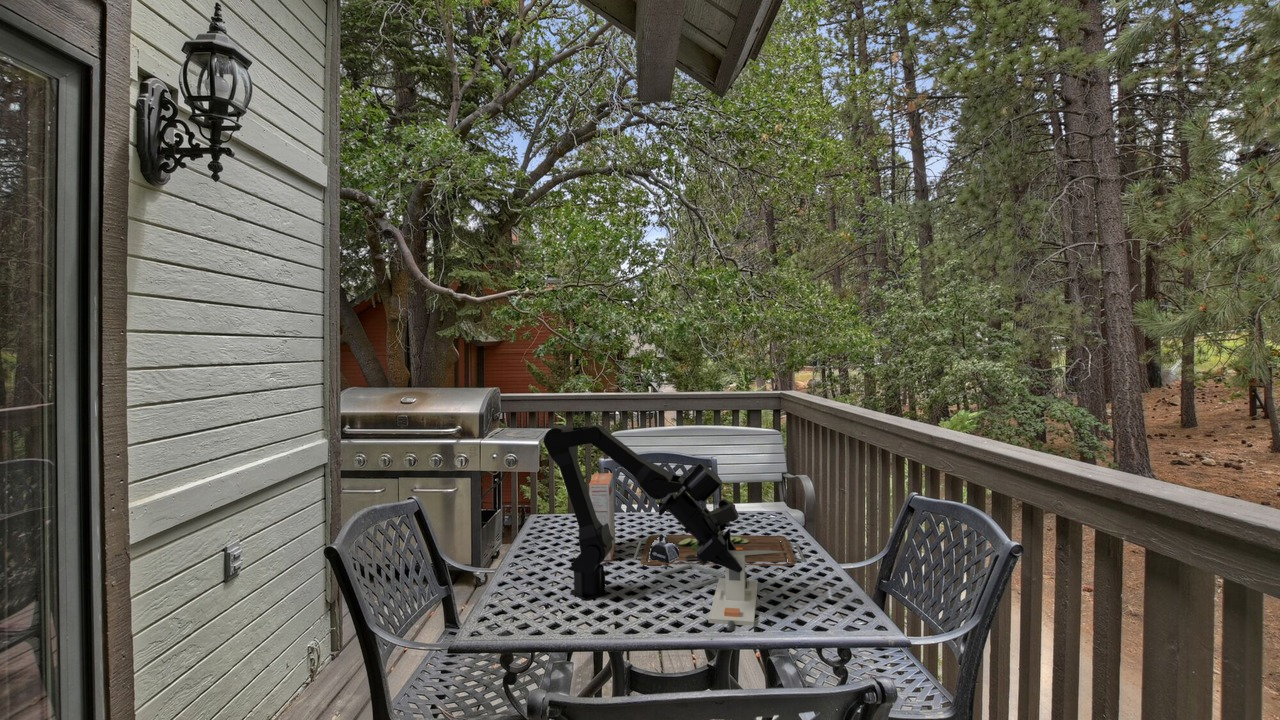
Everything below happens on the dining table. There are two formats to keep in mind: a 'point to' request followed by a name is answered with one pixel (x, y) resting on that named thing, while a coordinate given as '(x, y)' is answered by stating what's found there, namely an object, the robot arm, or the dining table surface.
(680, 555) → the chopping board
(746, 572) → the black plug
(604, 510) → the cracker box
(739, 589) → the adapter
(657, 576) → the tray
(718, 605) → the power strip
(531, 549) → the dining table surface
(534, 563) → the dining table surface
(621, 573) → the dining table surface
